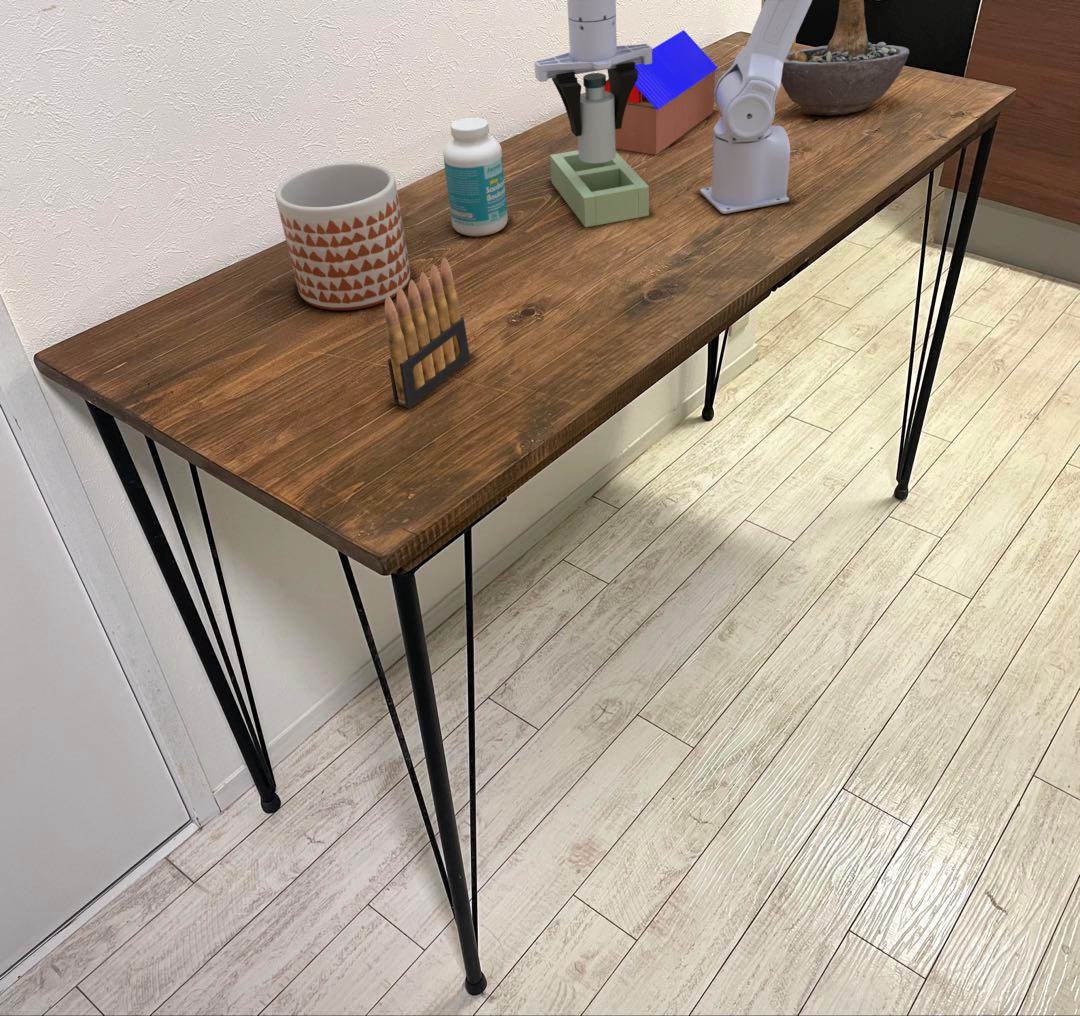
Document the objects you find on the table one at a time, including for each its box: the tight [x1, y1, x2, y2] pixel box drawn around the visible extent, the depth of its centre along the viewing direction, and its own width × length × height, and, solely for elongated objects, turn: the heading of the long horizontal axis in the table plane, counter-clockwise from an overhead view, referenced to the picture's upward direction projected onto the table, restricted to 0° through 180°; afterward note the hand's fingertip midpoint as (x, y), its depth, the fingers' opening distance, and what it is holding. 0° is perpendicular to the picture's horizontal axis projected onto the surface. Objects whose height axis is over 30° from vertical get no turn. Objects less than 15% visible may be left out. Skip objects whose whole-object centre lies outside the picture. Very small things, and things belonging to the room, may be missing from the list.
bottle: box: [577, 72, 617, 163], centre depth 129 cm, size 5×5×10 cm
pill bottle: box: [442, 117, 509, 237], centre depth 130 cm, size 8×7×14 cm
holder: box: [549, 149, 650, 228], centre depth 138 cm, size 9×16×4 cm, turn 15°
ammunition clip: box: [384, 256, 471, 409], centre depth 102 cm, size 11×2×12 cm, turn 147°
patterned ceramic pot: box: [274, 161, 412, 312], centre depth 120 cm, size 14×14×13 cm
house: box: [604, 29, 719, 156], centre depth 154 cm, size 12×20×12 cm, turn 147°
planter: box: [781, 0, 910, 116], centre depth 152 cm, size 15×17×20 cm
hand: (596, 130), depth 130 cm, fingers closed on bottle, 5 cm apart
